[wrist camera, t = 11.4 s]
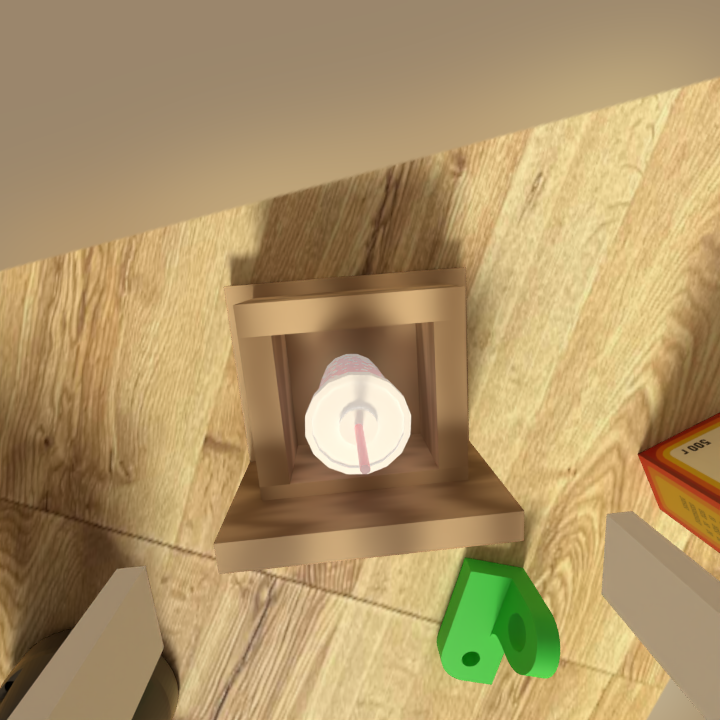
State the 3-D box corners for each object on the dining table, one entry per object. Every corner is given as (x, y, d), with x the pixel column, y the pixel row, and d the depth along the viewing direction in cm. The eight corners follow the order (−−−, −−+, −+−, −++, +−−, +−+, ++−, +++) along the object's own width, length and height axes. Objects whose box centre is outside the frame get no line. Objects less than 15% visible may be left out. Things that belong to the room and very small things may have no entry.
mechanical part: (464, 555, 38) (497, 629, 30) (522, 566, 39) (568, 641, 31) (429, 656, 41) (451, 748, 33) (484, 665, 41) (518, 756, 34)
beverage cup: (363, 328, 31) (387, 377, 17) (404, 392, 32) (457, 484, 18) (296, 371, 31) (268, 453, 17) (340, 432, 32) (345, 552, 19)
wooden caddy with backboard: (258, 472, 35) (219, 574, 23) (230, 285, 31) (168, 294, 20) (461, 451, 36) (523, 540, 24) (457, 267, 32) (528, 266, 20)
